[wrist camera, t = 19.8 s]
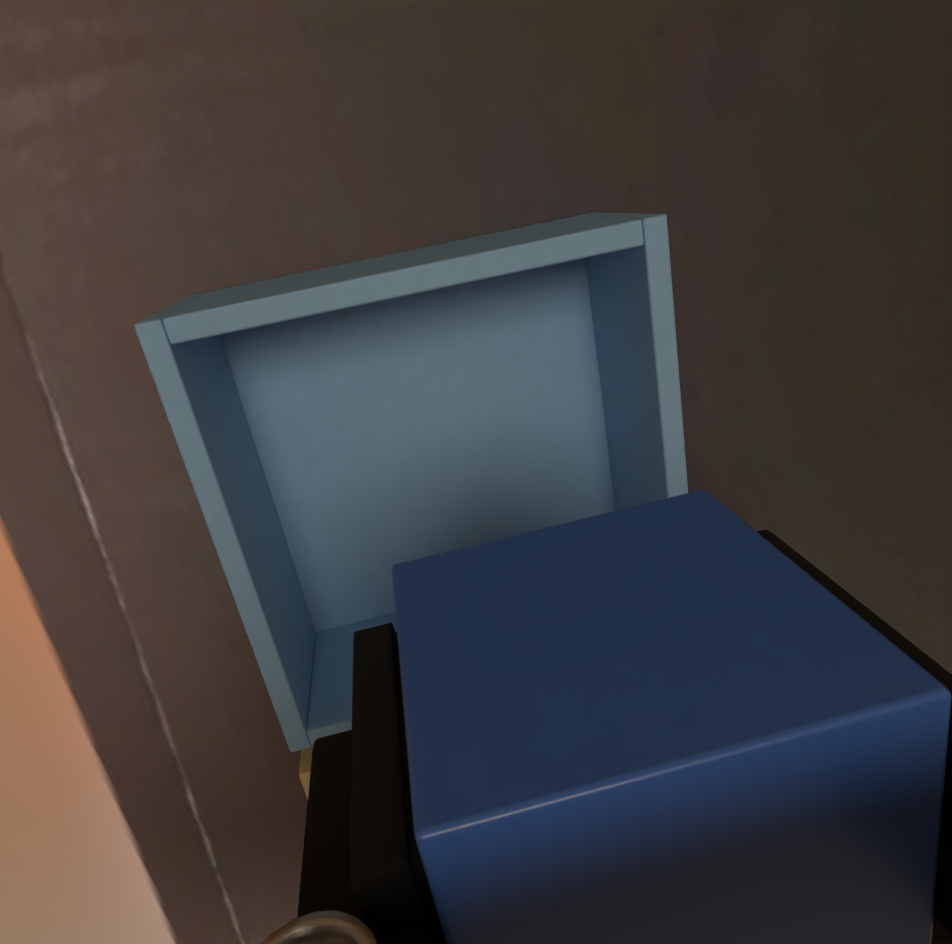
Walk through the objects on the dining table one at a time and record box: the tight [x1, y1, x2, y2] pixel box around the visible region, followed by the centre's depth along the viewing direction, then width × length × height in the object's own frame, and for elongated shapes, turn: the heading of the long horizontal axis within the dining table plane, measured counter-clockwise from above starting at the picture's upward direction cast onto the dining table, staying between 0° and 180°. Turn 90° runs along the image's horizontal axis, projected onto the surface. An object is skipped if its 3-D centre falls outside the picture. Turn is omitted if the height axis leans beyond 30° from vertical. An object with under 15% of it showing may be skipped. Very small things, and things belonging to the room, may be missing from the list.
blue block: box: [392, 490, 951, 944], centre depth 8 cm, size 4×4×4 cm
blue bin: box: [134, 213, 688, 752], centre depth 21 cm, size 12×12×6 cm
